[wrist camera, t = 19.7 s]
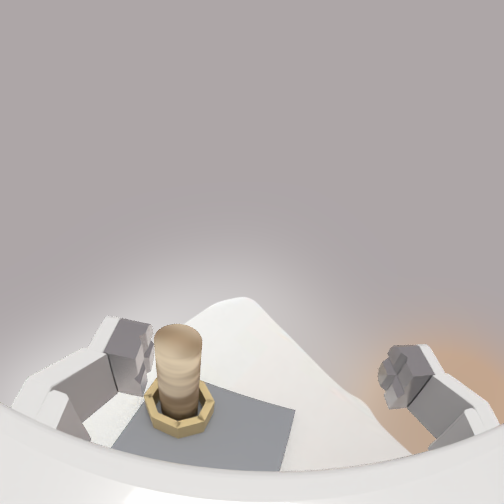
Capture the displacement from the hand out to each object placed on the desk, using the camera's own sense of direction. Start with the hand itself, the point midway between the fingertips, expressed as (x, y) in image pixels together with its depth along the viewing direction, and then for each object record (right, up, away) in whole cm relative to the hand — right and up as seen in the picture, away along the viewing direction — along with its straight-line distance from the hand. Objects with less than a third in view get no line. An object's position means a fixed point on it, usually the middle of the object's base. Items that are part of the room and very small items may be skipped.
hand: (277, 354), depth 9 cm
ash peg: (-11, -18, +26) cm, 33 cm away
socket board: (-7, -21, +24) cm, 32 cm away
